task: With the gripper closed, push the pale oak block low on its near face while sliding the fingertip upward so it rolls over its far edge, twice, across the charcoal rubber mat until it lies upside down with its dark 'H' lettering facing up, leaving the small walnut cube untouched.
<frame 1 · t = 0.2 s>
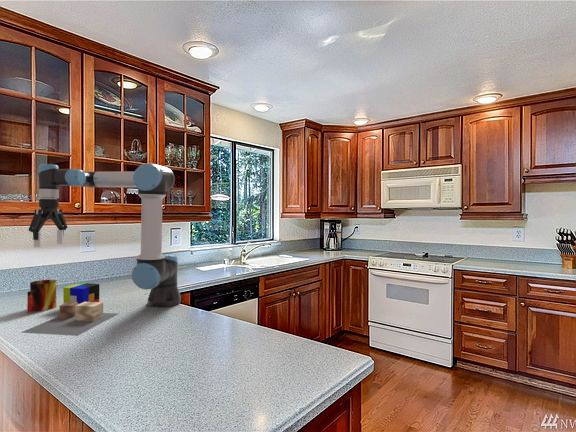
hand: (49, 245, 164), 28 cm above the worktop, fingers open, 13 cm apart
mat: (74, 322, 143), on the worktop
puzzle toy: (81, 308, 164), on the worktop
oak block: (89, 318, 147), resting on mat
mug: (43, 310, 159), on the worktop
walnut cube: (68, 315, 150), resting on mat
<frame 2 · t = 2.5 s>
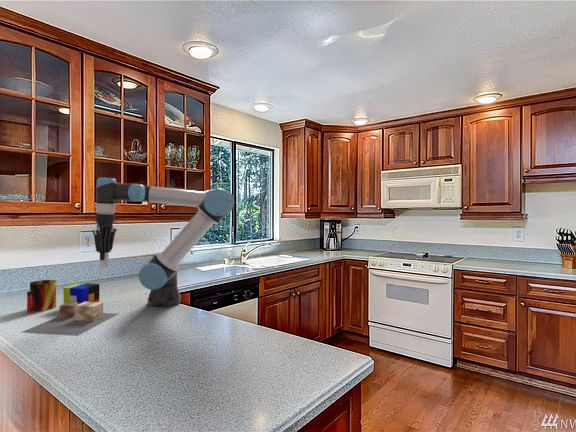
hand: (103, 267, 158), 19 cm above the worktop, fingers closed
nothing on the worktop moved.
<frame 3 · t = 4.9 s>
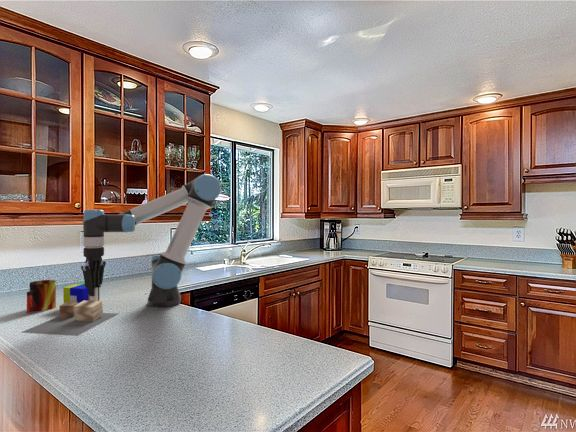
hand: (94, 303, 150), 6 cm above the worktop, fingers closed
oak block: (89, 317, 147), point 1 cm above the worktop, tilted 7°, touching gripper, mat
everything else where it was.
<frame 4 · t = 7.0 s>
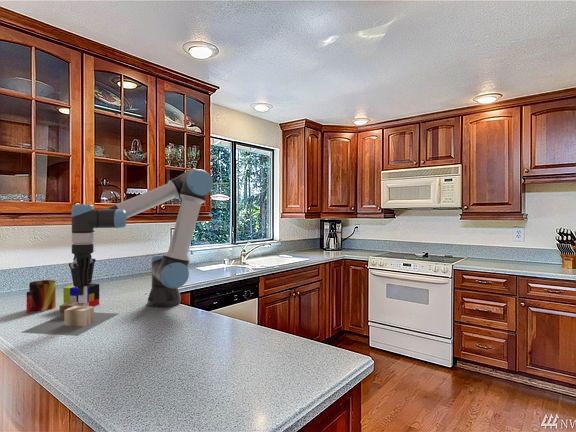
hand: (82, 302, 143), 8 cm above the worktop, fingers closed
oak block: (84, 313, 144), point 3 cm above the worktop, tilted 90°, touching mat
everything else where it was.
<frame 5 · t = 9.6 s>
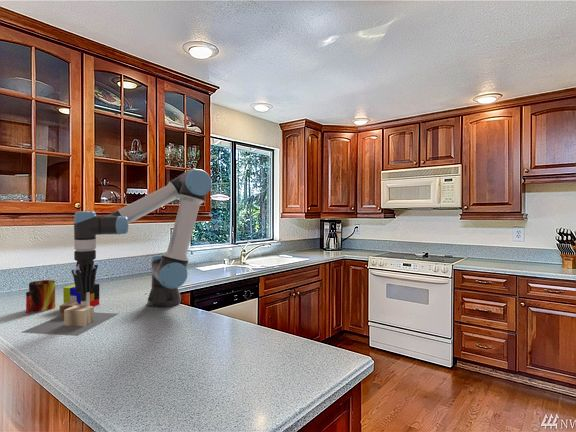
hand: (85, 308, 145), 5 cm above the worktop, fingers closed
oak block: (84, 313, 144), point 3 cm above the worktop, tilted 91°, touching gripper, mat
everything else where it was.
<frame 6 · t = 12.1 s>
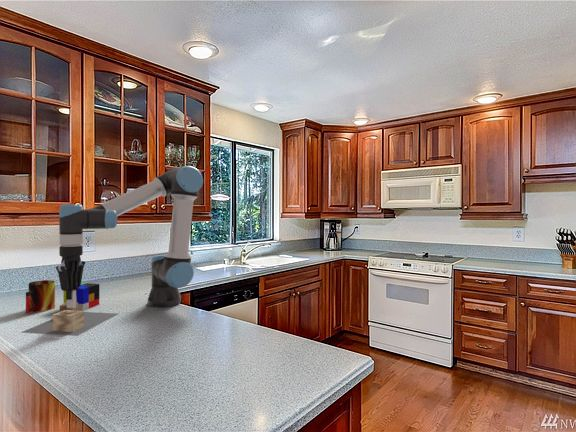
hand: (71, 307, 137), 8 cm above the worktop, fingers closed
oak block: (68, 312, 135), point 6 cm above the worktop, tilted 180°, touching mat
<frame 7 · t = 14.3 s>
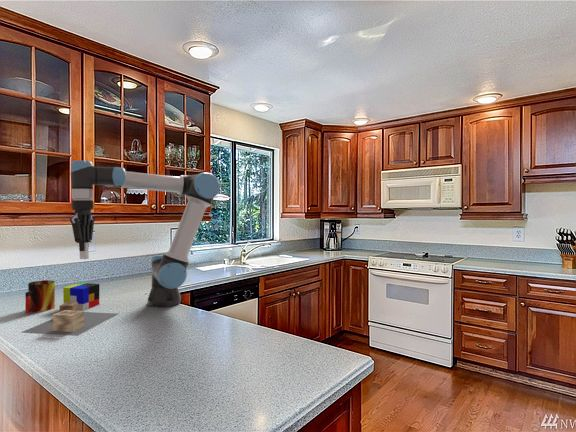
hand: (84, 258, 145), 25 cm above the worktop, fingers closed
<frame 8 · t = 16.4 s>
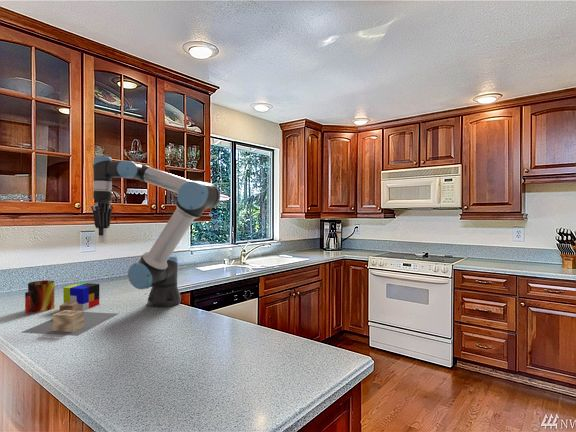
hand: (102, 242, 165), 29 cm above the worktop, fingers closed
at the end: oak block tilted 180°; oak block inside the target area (1.1 cm from its centre), point 6.3 cm above the worktop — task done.
